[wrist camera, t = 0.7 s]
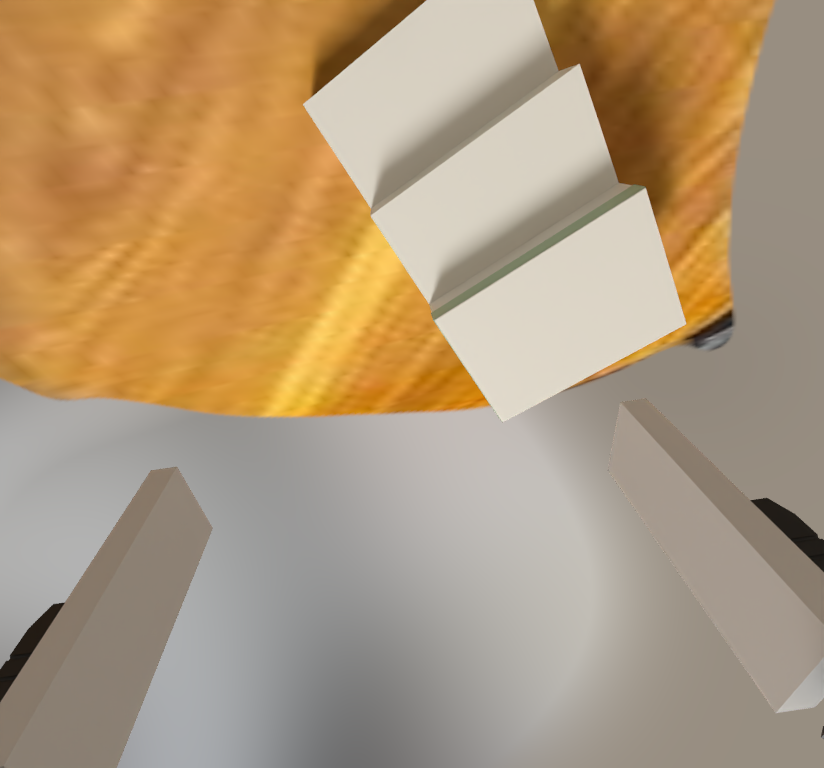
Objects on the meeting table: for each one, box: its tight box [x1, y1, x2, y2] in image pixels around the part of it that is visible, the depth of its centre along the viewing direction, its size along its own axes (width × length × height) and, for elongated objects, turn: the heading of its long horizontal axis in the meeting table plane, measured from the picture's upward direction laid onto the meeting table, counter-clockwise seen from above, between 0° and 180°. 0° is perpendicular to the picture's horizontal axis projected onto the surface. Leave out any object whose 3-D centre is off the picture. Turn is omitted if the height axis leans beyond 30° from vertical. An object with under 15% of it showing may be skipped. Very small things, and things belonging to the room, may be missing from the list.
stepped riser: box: [303, 0, 686, 422], centre depth 28 cm, size 24×14×9 cm, turn 33°
